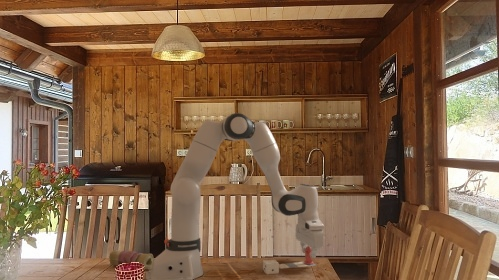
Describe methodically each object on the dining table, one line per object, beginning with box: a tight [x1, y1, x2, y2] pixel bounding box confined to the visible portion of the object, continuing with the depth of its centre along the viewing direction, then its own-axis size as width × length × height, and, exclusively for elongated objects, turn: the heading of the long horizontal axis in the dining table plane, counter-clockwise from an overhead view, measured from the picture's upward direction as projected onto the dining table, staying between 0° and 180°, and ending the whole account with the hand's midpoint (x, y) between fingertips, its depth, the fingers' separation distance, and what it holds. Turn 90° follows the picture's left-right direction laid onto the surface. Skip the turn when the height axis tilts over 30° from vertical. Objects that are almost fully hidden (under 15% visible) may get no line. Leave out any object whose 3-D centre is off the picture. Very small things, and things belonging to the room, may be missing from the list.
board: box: [279, 261, 316, 270], centre depth 161 cm, size 16×6×1 cm, turn 106°
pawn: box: [303, 245, 314, 265], centre depth 163 cm, size 4×4×7 cm
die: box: [262, 259, 280, 275], centre depth 152 cm, size 6×5×5 cm
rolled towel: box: [108, 249, 155, 270], centre depth 163 cm, size 8×8×20 cm
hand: (308, 255), depth 163 cm, fingers open, 7 cm apart
